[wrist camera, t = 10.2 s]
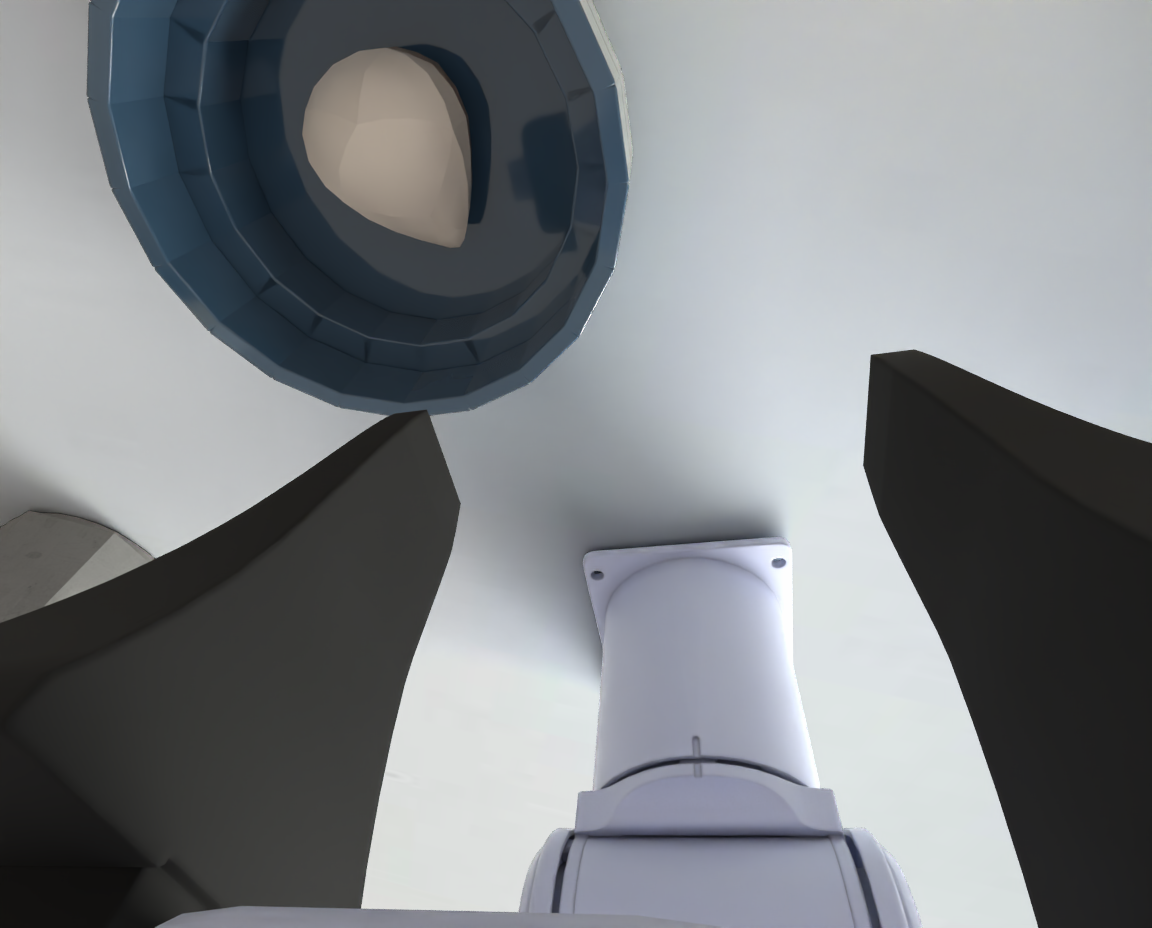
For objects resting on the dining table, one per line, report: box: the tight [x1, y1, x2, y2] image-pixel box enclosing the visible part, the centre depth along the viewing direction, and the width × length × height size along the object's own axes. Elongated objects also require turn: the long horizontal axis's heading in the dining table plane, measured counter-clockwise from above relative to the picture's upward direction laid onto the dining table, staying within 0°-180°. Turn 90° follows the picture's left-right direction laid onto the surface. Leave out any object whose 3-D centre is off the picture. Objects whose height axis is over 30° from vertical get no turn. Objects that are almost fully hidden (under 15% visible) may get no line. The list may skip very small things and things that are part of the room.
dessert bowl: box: [87, 0, 633, 416], centre depth 17 cm, size 12×12×4 cm
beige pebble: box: [302, 47, 472, 248], centre depth 17 cm, size 4×5×2 cm
